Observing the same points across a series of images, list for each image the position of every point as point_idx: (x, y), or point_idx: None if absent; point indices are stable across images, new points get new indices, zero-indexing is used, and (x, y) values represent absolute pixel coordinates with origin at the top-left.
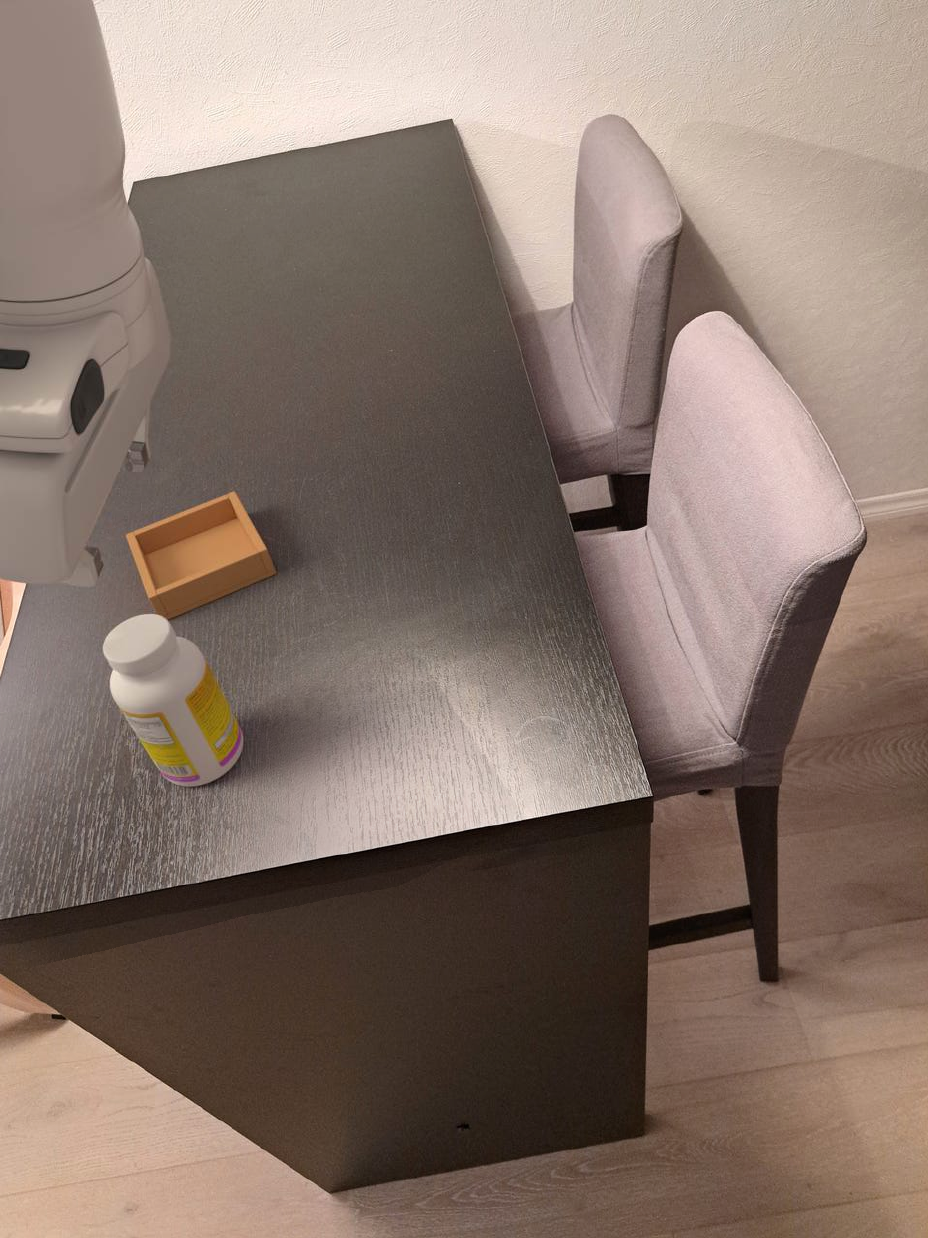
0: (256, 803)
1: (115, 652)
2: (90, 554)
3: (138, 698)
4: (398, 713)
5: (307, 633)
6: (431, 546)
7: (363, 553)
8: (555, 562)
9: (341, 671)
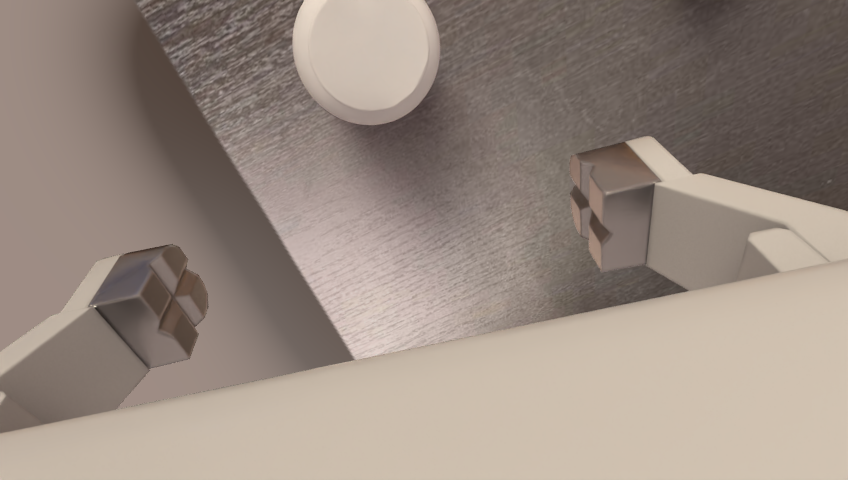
0: (319, 151)
1: (327, 29)
2: (120, 403)
3: (301, 65)
4: (461, 249)
5: (569, 93)
6: None
7: (711, 106)
8: None
9: (512, 164)
